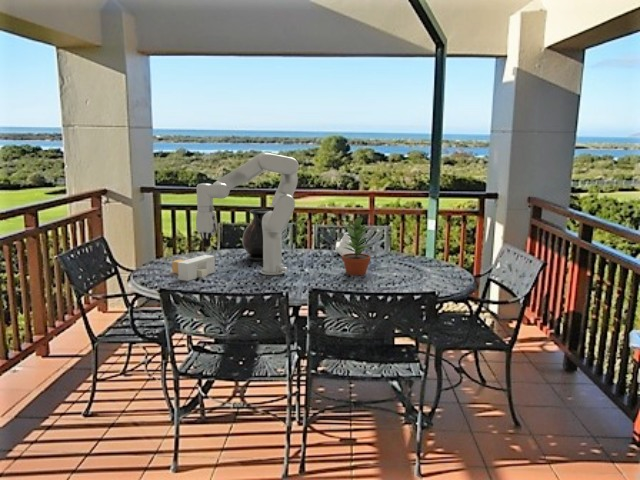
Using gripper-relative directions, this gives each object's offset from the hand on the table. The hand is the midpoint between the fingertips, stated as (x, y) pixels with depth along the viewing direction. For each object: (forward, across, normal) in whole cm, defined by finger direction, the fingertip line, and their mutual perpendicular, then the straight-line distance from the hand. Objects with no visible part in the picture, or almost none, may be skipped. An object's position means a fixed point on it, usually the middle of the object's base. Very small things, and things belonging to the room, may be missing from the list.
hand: (207, 246), depth 264 cm
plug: (+16, +12, 0) cm, 20 cm away
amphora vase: (+17, +1, -48) cm, 50 cm away
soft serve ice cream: (+18, -34, -84) cm, 93 cm away
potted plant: (+17, -59, -46) cm, 77 cm away
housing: (+16, +7, 0) cm, 17 cm away
